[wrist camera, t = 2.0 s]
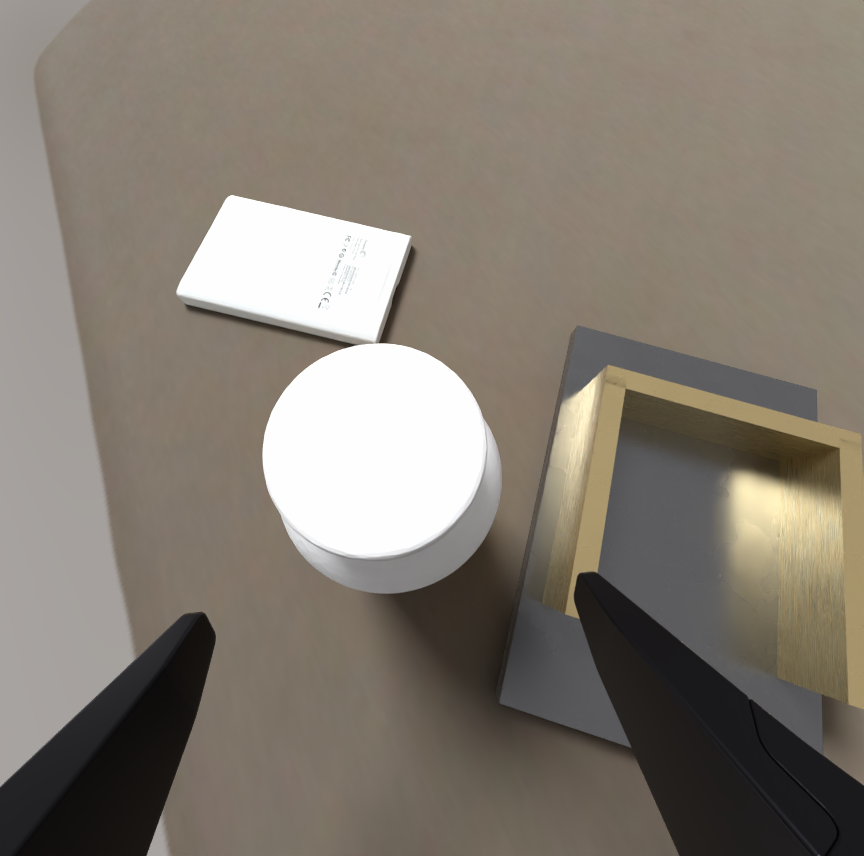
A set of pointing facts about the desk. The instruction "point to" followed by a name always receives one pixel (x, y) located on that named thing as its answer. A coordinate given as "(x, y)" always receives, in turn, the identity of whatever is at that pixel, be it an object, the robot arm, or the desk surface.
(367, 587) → the supplement bottle
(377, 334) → the external hard drive
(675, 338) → the desk surface
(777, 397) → the wooden walled tray
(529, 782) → the desk surface
